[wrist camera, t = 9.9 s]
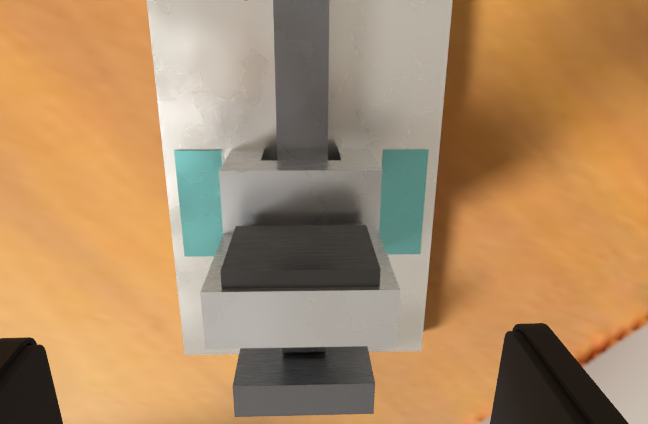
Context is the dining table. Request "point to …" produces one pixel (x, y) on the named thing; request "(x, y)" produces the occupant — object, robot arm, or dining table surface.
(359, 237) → the notched grey block
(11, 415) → the robot arm
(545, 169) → the dining table surface
